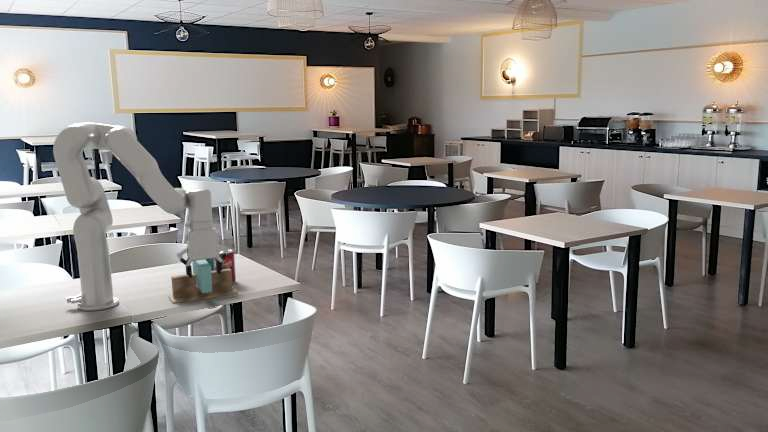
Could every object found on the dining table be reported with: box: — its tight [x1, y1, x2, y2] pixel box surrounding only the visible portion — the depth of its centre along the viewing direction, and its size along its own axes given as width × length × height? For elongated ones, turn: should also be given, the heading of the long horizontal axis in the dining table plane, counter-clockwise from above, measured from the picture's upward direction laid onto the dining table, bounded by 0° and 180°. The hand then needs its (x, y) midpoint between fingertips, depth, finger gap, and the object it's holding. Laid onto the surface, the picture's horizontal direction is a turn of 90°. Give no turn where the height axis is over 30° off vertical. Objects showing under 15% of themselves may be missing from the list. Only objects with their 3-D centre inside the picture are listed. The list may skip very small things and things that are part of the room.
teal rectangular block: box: [192, 260, 212, 293], centre depth 228 cm, size 3×14×9 cm, turn 28°
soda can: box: [214, 249, 237, 285], centre depth 244 cm, size 7×7×12 cm
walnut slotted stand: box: [168, 269, 239, 304], centre depth 229 cm, size 22×8×8 cm, turn 118°
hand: (204, 274), depth 225 cm, fingers open, 9 cm apart
